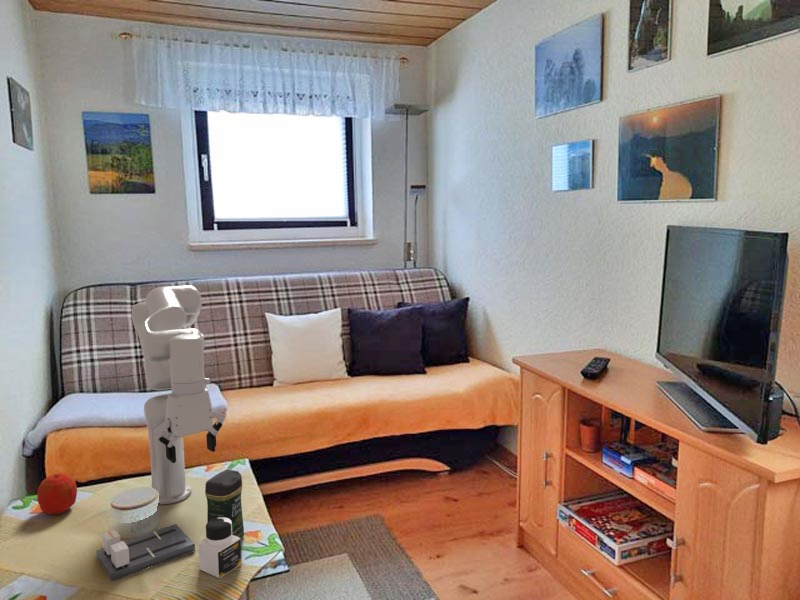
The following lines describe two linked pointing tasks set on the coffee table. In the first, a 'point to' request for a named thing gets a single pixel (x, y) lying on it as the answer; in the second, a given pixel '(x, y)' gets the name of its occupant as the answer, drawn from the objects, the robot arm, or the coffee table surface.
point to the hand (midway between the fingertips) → (192, 455)
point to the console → (148, 551)
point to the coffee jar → (226, 499)
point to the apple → (56, 494)
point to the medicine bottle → (219, 548)
